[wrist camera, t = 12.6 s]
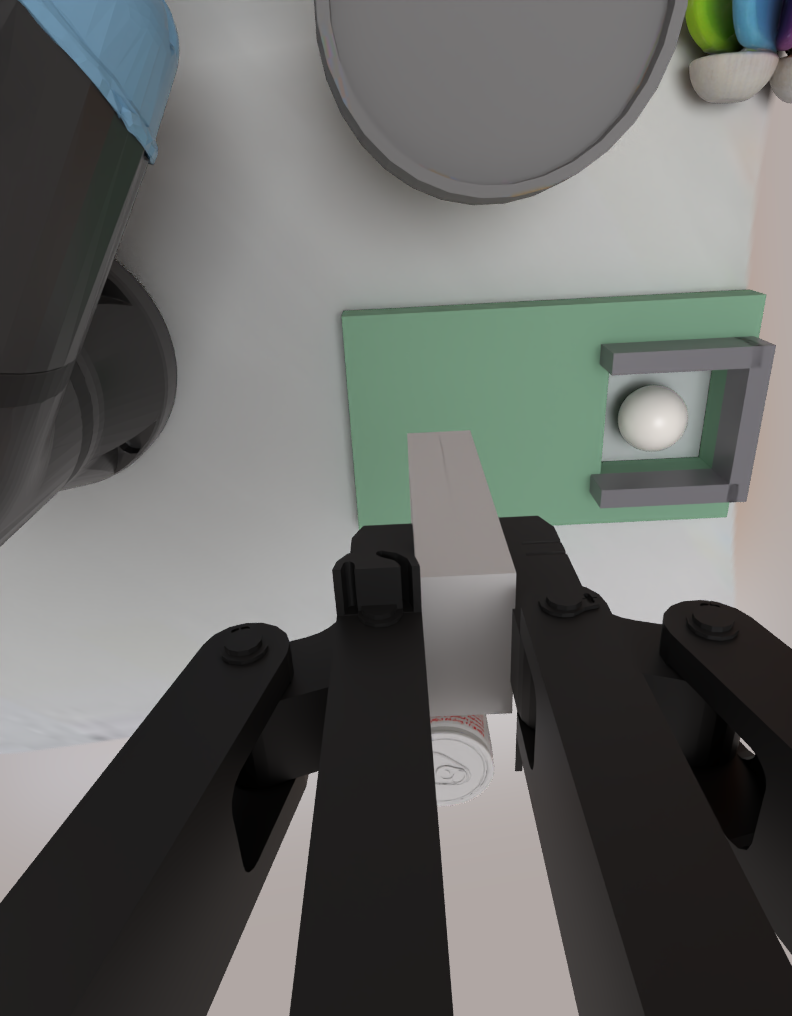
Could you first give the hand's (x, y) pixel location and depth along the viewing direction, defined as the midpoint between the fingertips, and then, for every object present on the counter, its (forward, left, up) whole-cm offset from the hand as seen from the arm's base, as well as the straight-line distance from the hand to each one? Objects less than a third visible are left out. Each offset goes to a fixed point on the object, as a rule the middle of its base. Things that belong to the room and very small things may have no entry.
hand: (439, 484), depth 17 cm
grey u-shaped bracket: (+15, -7, -24) cm, 29 cm away
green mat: (+8, -7, -26) cm, 28 cm away
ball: (+16, -7, -25) cm, 31 cm away
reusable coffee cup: (+3, +12, -27) cm, 29 cm away
